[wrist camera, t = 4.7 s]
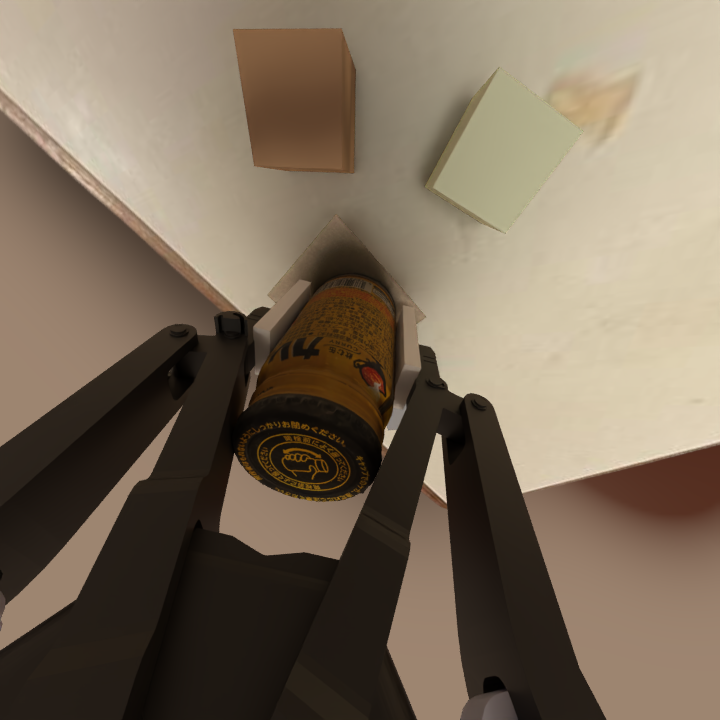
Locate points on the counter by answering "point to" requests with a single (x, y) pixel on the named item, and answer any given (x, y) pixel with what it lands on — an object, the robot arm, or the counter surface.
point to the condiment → (327, 376)
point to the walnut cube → (298, 98)
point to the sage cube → (501, 152)
